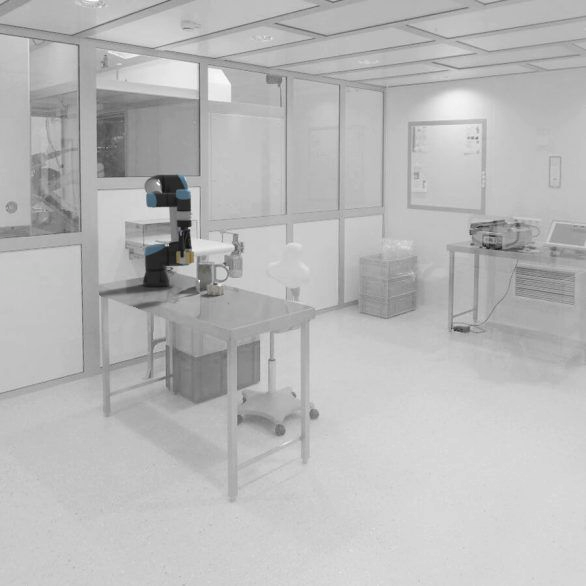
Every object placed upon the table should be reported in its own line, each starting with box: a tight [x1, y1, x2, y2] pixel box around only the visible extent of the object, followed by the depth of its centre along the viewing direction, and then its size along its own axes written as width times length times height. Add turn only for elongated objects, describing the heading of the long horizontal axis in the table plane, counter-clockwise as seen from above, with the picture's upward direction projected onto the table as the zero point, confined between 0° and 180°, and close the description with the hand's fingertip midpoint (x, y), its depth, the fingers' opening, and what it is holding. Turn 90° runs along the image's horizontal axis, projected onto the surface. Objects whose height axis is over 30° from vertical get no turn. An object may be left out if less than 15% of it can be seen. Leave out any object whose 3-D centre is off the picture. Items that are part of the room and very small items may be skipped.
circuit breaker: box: [197, 261, 217, 290], centre depth 368 cm, size 8×14×15 cm, turn 174°
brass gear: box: [176, 250, 195, 265], centre depth 347 cm, size 9×9×6 cm
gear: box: [206, 282, 225, 296], centre depth 349 cm, size 9×9×6 cm
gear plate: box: [195, 280, 201, 295], centre depth 350 cm, size 9×18×8 cm, turn 85°
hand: (185, 262), depth 347 cm, fingers closed on brass gear, 9 cm apart
